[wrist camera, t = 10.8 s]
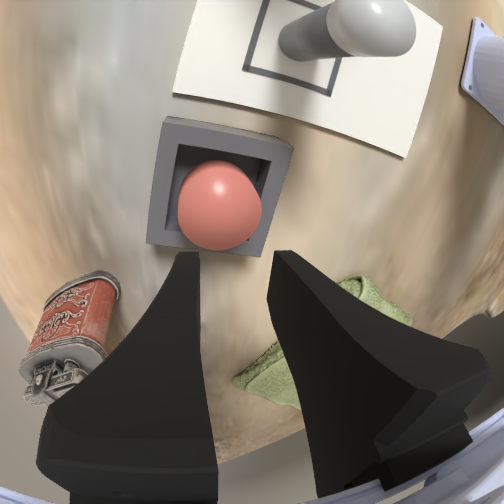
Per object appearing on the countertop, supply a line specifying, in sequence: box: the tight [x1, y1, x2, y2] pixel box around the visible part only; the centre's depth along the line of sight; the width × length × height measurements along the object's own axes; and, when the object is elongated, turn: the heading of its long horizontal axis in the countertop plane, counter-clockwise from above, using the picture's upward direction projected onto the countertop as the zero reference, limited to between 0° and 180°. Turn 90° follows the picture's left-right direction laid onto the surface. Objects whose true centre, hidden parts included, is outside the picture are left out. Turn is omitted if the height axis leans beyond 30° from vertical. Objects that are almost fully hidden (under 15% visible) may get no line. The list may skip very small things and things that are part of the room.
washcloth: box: [232, 274, 412, 410], centre depth 29 cm, size 13×18×3 cm
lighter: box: [19, 270, 120, 406], centre depth 17 cm, size 8×3×10 cm, turn 112°
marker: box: [278, 0, 416, 62], centre depth 11 cm, size 3×3×9 cm
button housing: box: [146, 116, 294, 257], centre depth 17 cm, size 7×7×3 cm
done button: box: [178, 160, 262, 250], centre depth 15 cm, size 4×4×2 cm
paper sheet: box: [172, 0, 443, 158], centre depth 15 cm, size 17×12×1 cm
